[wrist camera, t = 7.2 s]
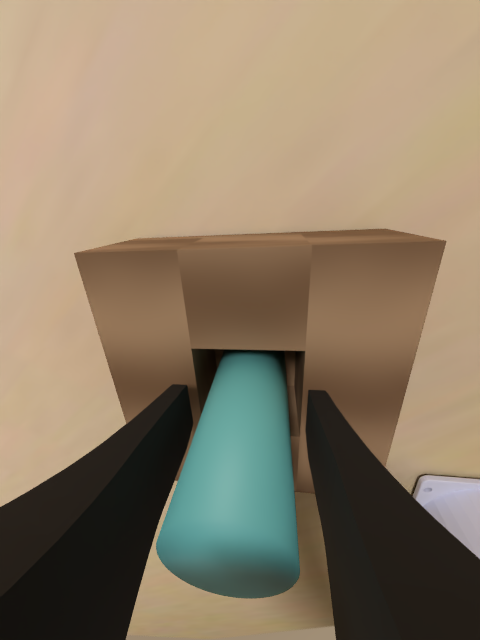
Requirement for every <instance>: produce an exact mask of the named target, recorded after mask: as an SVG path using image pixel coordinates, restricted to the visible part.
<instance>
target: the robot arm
mask: <svg viewBox="0 0 480 640" xmlns="http://www.w3.org/2000/svg"><path fill="white" fill-rule="evenodd" d="M192 427H193V417H192V411H191V405H190V399H189V393H188V387H187V385H180V384H172V385H171V386H170V387H169V388H168V389H166V390H165V391H164V392H163V393H162V394H161V395H160V396H159V397H157V398H156V399H155V400H154V401H153V402H152V403H151V404H150V405H148V406H147V407H146V408H145V409H144V410H143V411H141V412H140V413H139V414H138V415H137V416H136V417H134V418H133V419H132V420H131V421H130V422H128V423H127V424H126V425H125V426H123V427H122V428H121V429H120V430H118V431H117V432H116V433H115V434H113V435H112V436H111V437H110V438H108V439H107V440H106V441H104V442H103V443H102V444H100V445H99V446H98V447H96V448H95V449H94V450H92V451H91V452H89V453H88V454H86V455H85V456H83V457H82V458H81V459H79V460H78V461H76V462H75V463H73V464H72V465H70V466H69V467H67V468H66V469H64V470H62V471H61V472H59V473H58V474H56V475H54V476H53V477H51V478H49V479H48V480H46V481H45V482H43V483H41V484H40V485H38V486H36V487H35V488H33V489H32V490H30V491H28V492H26V493H25V494H23V495H21V496H19V497H18V498H16V499H14V500H12V501H11V502H9V503H7V504H5V505H3V506H2V507H0V640H126V636H127V632H128V628H129V624H130V621H131V617H132V613H133V609H134V605H135V602H136V598H137V594H138V591H139V587H140V584H141V580H142V577H143V573H144V569H145V566H146V562H147V559H148V556H149V552H150V549H151V546H152V542H153V539H154V536H155V532H156V529H157V526H158V523H159V520H160V517H161V514H162V511H163V509H164V506H165V504H166V501H167V498H168V496H169V493H170V491H171V488H172V486H173V483H174V481H175V478H176V476H177V473H178V470H179V468H180V465H181V463H182V460H183V458H184V455H185V452H186V450H187V446H188V443H189V439H190V435H191V431H192ZM305 431H306V442H307V452H308V460H309V465H310V470H311V475H312V480H313V485H314V490H315V495H316V500H317V505H318V510H319V515H320V520H321V525H322V530H323V536H324V542H325V549H326V557H327V565H328V574H329V582H330V590H331V599H332V607H333V616H334V625H335V634H336V640H480V479H471V478H459V477H446V476H433V475H424V476H422V477H420V478H419V480H418V483H417V486H416V489H415V491H414V494H413V497H412V496H411V495H410V493H409V492H408V491H407V490H406V489H405V488H404V487H403V486H402V485H401V484H400V483H399V482H398V481H397V480H396V479H395V478H394V477H393V476H392V475H391V474H390V472H389V471H388V470H387V469H386V468H385V467H384V466H383V465H382V463H381V462H380V461H379V460H378V459H377V458H376V457H375V455H374V454H373V453H372V452H371V451H370V450H369V448H368V447H367V446H366V445H365V443H364V442H363V441H362V440H361V438H360V437H359V436H358V435H357V433H356V432H355V431H354V429H353V428H352V427H351V426H350V424H349V423H348V422H347V420H346V419H345V417H344V416H343V415H342V413H341V412H340V410H339V409H338V407H337V406H336V405H335V403H334V402H333V400H332V399H331V397H330V395H329V394H328V393H327V392H326V391H325V390H308V402H307V416H306V429H305Z"/></svg>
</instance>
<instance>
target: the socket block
mask: <svg viewBox="0 0 480 640" xmlns="http://www.w3.org/2000/svg"><path fill="white" fill-rule="evenodd" d="M445 245H446V241H444V240H439V239H434V238H429V237H424V236H419V235H414V234H409V233H404V232H399V231H394V230H389V229H367V230H342V231H317V232H292V233H267V234H241V235H216V236H191V237H166V238H141V239H133V240H129V241H124V242H120V243H116V244H112V245H107V246H103V247H99V248H94V249H90V250H86V251H81V252H77V253H74V255H75V258H76V261H77V265H78V268H79V271H80V274H81V278H82V281H83V284H84V287H85V291H86V294H87V297H88V300H89V304H90V307H91V310H92V313H93V317H94V320H95V323H96V326H97V330H98V333H99V336H100V339H101V343H102V346H103V349H104V352H105V356H106V359H107V362H108V365H109V368H110V372H111V375H112V378H113V381H114V385H115V388H116V391H117V394H118V398H119V401H120V404H121V407H122V411H123V414H124V417H125V420H126V424H127V423H128V422H130V421H131V420H132V419H133V418H134V417H136V416H137V415H138V414H139V413H140V412H141V411H143V410H144V409H145V408H146V407H147V406H148V405H150V404H151V403H152V402H153V401H154V400H155V399H156V398H157V397H159V396H160V395H161V394H162V393H163V392H164V391H165V390H166V389H168V388H169V387H170V386H171V385H172V384H180V385H187V387H188V393H189V399H190V405H191V411H192V417H193V427H192V431H191V435H190V439H189V443H188V446H187V450H186V452H185V455H184V458H183V460H182V463H181V465H180V468H179V470H178V473H177V476H176V478H175V480H176V481H178V480H179V477H180V474H181V471H182V468H183V466H184V463H185V460H186V457H187V454H188V451H189V448H190V446H191V443H192V440H193V437H194V434H195V431H196V428H197V426H198V423H199V420H200V417H201V414H202V411H203V409H204V406H205V403H206V400H207V397H208V394H209V391H210V389H211V386H212V383H213V380H214V377H215V374H216V372H217V369H218V366H219V363H220V360H221V357H222V354H223V352H224V349H237V350H284V351H285V365H286V379H287V393H288V408H289V422H290V436H291V451H292V465H293V479H294V492H305V493H315V490H314V485H313V480H312V475H311V470H310V465H309V460H308V452H307V442H306V431H305V429H306V416H307V402H308V390H325V391H326V392H327V393H328V394H329V395H330V397H331V399H332V400H333V402H334V403H335V405H336V406H337V407H338V409H339V410H340V412H341V413H342V415H343V416H344V417H345V419H346V420H347V422H348V423H349V424H350V426H351V427H352V428H353V429H354V431H355V432H356V433H357V435H358V436H359V437H360V438H361V440H362V441H363V442H364V443H365V445H366V446H367V447H368V448H369V450H370V451H371V452H372V453H373V454H374V455H375V457H376V458H377V459H378V460H379V461H380V462H381V463H382V465H383V466H384V467H385V466H386V462H387V459H388V455H389V451H390V448H391V444H392V440H393V437H394V433H395V429H396V425H397V422H398V418H399V414H400V411H401V407H402V403H403V400H404V396H405V392H406V389H407V385H408V381H409V377H410V374H411V370H412V366H413V363H414V359H415V355H416V352H417V348H418V344H419V341H420V337H421V333H422V329H423V326H424V322H425V318H426V315H427V311H428V307H429V304H430V300H431V296H432V293H433V289H434V285H435V281H436V278H437V274H438V270H439V267H440V263H441V259H442V256H443V252H444V248H445Z"/></svg>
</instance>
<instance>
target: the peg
mask: <svg viewBox="0 0 480 640" xmlns="http://www.w3.org/2000/svg"><path fill="white" fill-rule="evenodd" d="M156 550H157V554H158V556H159V558H160V560H161V562H162V563H163V564H164V565H165V567H166V568H167V569H168V570H169V571H171V572H172V573H173V574H174V575H176V576H177V577H178V578H180V579H182V580H183V581H185V582H187V583H189V584H191V585H193V586H195V587H197V588H200V589H202V590H205V591H208V592H211V593H215V594H219V595H223V596H228V597H236V598H264V597H270V596H274V595H278V594H280V593H283V592H285V591H287V590H289V589H290V588H291V587H293V585H294V584H295V583H296V582H297V580H298V578H299V575H300V565H299V551H298V536H297V522H296V508H295V493H294V479H293V465H292V451H291V436H290V422H289V408H288V393H287V379H286V365H285V351H284V350H237V349H224V352H223V354H222V357H221V360H220V363H219V366H218V369H217V372H216V374H215V377H214V380H213V383H212V386H211V389H210V391H209V394H208V397H207V400H206V403H205V406H204V409H203V411H202V414H201V417H200V420H199V423H198V426H197V428H196V431H195V434H194V437H193V440H192V443H191V446H190V448H189V451H188V454H187V457H186V460H185V463H184V466H183V468H182V471H181V474H180V477H179V480H178V483H177V485H176V488H175V491H174V494H173V497H172V500H171V503H170V505H169V508H168V511H167V514H166V517H165V520H164V522H163V525H162V528H161V531H160V534H159V537H158V540H157V543H156Z"/></svg>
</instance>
